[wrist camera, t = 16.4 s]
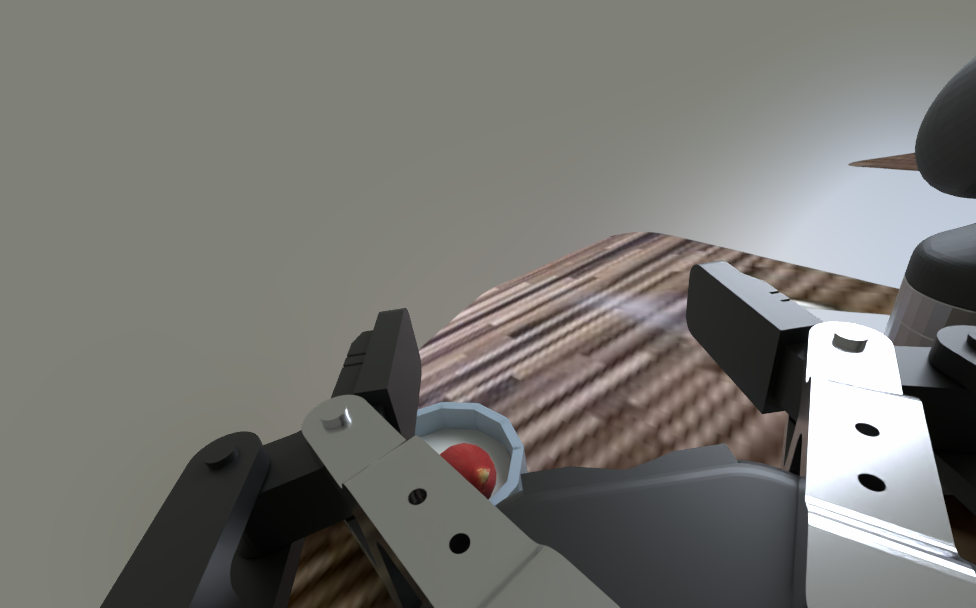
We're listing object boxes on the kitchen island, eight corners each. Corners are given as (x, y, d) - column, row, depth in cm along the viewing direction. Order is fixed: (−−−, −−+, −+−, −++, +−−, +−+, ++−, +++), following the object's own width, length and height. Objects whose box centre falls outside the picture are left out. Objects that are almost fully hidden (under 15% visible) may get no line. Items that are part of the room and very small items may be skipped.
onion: (478, 499, 43) (523, 504, 37) (425, 518, 40) (463, 527, 34) (466, 439, 45) (507, 433, 38) (413, 453, 42) (448, 449, 35)
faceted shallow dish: (494, 411, 52) (489, 386, 51) (553, 524, 39) (550, 494, 37) (361, 457, 49) (351, 431, 47) (375, 599, 35) (361, 570, 33)
